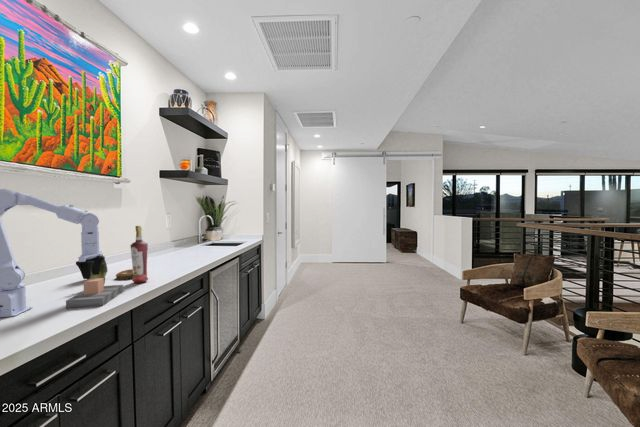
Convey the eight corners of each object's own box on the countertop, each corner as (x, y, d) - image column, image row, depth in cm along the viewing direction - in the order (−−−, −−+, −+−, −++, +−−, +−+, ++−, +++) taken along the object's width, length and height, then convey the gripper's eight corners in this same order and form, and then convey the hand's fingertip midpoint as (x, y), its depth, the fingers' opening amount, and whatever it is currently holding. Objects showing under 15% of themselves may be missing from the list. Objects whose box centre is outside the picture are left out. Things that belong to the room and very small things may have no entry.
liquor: (152, 280, 154) (150, 225, 153) (140, 284, 147) (138, 226, 146) (140, 280, 156) (138, 225, 155) (128, 283, 149) (126, 226, 148)
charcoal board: (103, 305, 116) (102, 297, 116) (66, 308, 113) (65, 300, 113) (123, 291, 135) (123, 284, 135) (92, 293, 132) (92, 286, 132)
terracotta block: (98, 293, 122) (97, 280, 122) (83, 294, 121) (83, 281, 121) (104, 290, 127) (103, 278, 127) (90, 291, 126) (89, 278, 125)
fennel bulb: (106, 287, 143) (105, 261, 143) (98, 290, 138) (97, 263, 138) (94, 287, 143) (93, 261, 143) (86, 290, 138) (85, 263, 138)
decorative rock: (121, 276, 169) (114, 283, 155) (120, 268, 168) (113, 275, 154) (144, 273, 173) (139, 279, 159) (144, 265, 173) (139, 272, 159)
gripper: (93, 244, 117) (94, 280, 118) (109, 240, 131) (110, 272, 132) (71, 245, 116) (72, 281, 116) (90, 241, 130) (91, 273, 130)
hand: (91, 276), depth 124 cm, fingers open, 7 cm apart
